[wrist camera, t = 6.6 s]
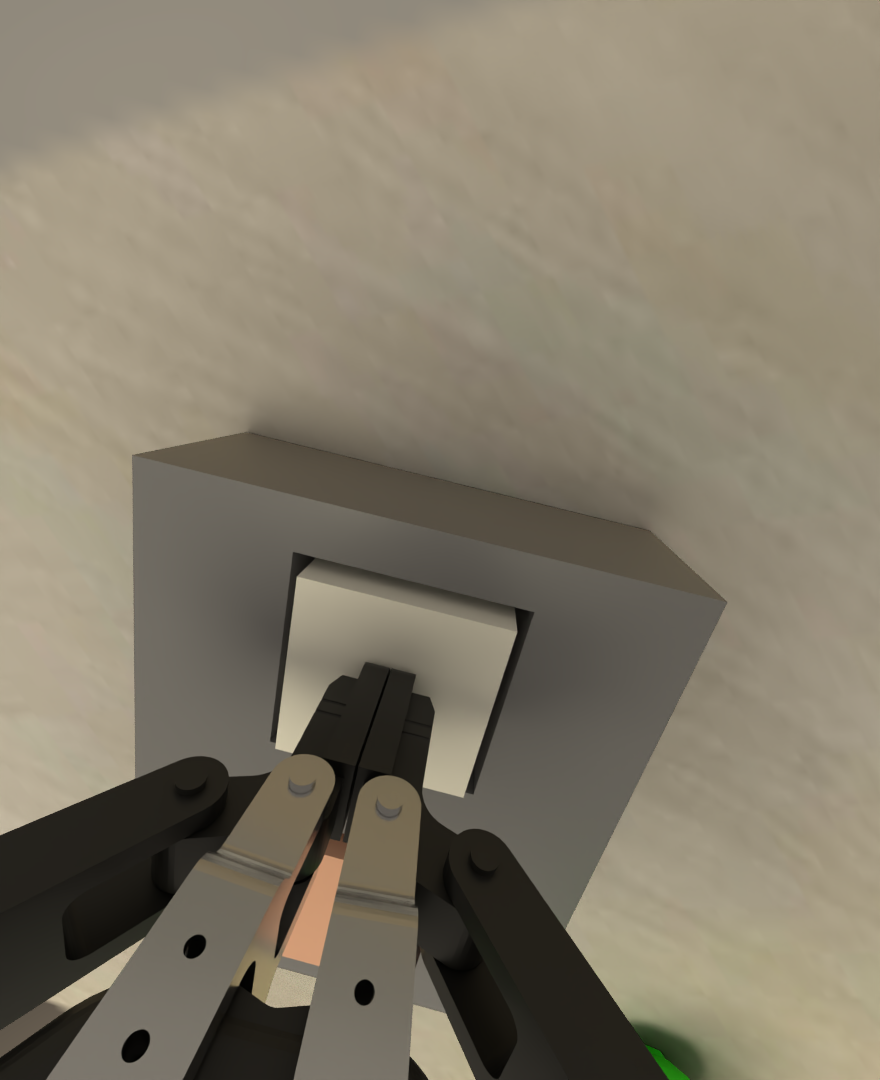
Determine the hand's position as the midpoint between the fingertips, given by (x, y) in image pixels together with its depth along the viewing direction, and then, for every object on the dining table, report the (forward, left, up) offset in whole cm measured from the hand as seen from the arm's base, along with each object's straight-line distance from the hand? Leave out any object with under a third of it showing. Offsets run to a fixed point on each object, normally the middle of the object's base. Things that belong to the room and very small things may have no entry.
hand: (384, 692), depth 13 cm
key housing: (0, +5, -7) cm, 8 cm away
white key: (0, 0, -3) cm, 3 cm away
